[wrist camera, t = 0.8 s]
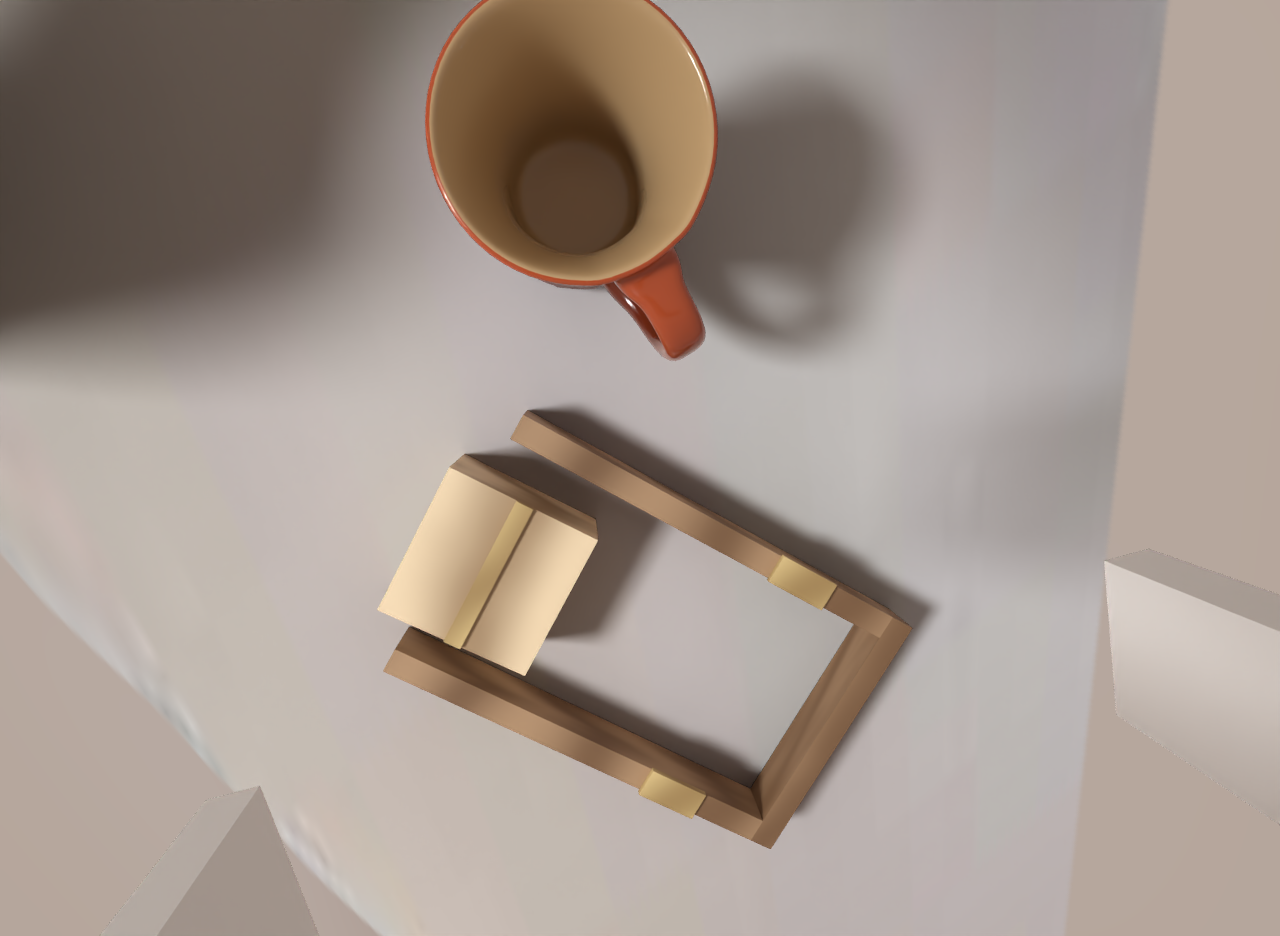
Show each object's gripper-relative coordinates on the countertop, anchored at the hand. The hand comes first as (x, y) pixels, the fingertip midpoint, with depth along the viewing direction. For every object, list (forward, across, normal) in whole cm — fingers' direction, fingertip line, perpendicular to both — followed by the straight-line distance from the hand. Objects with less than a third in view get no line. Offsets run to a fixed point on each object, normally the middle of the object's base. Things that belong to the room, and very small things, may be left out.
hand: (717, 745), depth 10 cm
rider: (+23, -6, -3) cm, 24 cm away
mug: (+23, +2, +10) cm, 25 cm away
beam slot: (+22, 0, -8) cm, 24 cm away
